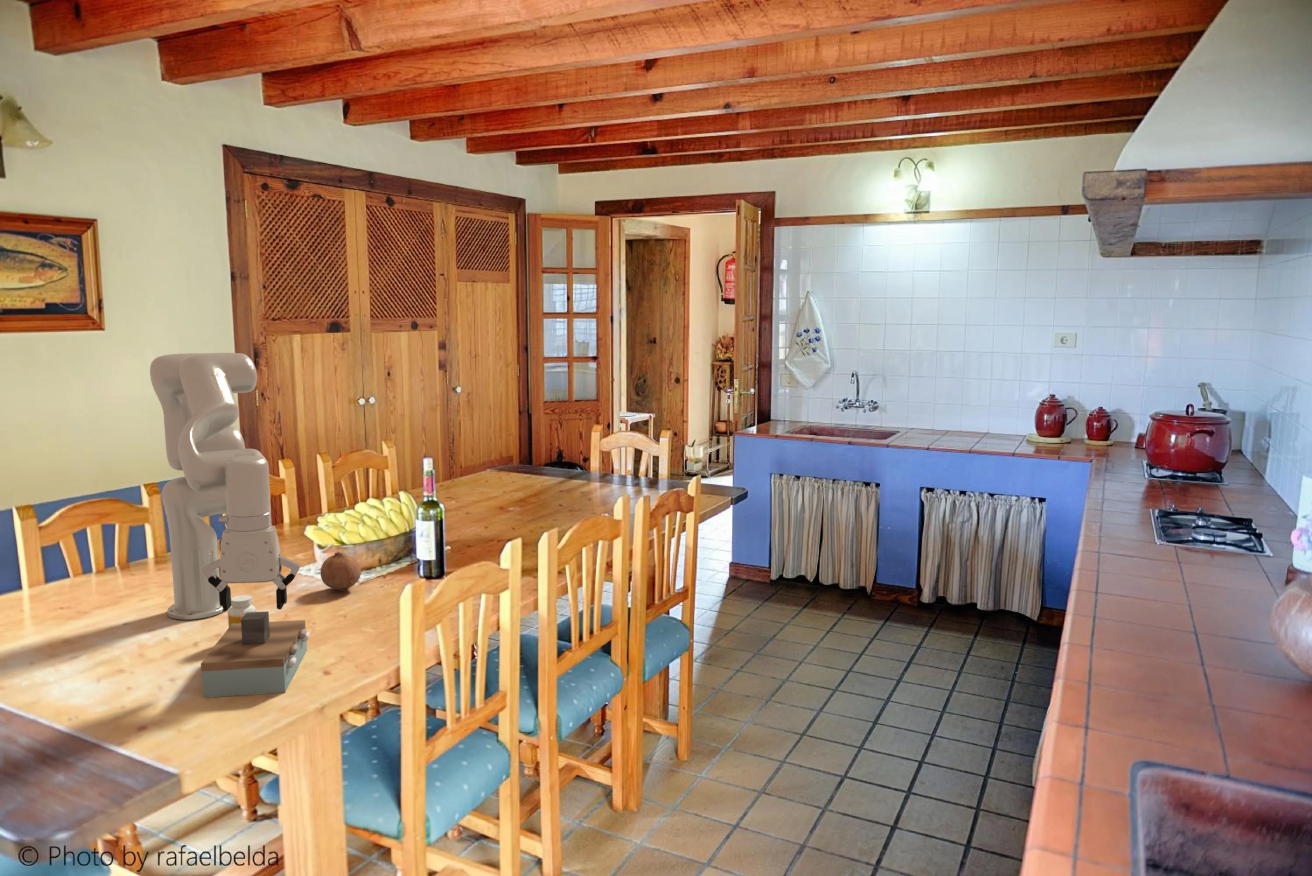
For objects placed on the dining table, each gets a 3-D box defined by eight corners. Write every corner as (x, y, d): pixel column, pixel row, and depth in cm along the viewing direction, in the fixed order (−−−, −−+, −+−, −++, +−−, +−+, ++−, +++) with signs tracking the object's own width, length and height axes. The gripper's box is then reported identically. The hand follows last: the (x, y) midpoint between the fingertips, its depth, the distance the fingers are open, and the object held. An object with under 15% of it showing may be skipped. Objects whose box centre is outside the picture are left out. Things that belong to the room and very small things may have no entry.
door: (232, 630, 177) (230, 600, 176) (311, 626, 180) (310, 596, 179) (201, 671, 158) (198, 637, 157) (290, 666, 161) (288, 632, 160)
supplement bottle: (228, 639, 186) (226, 596, 184) (256, 635, 188) (253, 592, 187) (230, 648, 181) (227, 603, 180) (258, 643, 184) (256, 599, 182)
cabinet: (234, 654, 178) (232, 631, 177) (313, 650, 181) (312, 626, 180) (203, 697, 158) (201, 671, 158) (292, 692, 161) (290, 666, 161)
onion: (315, 590, 218) (313, 551, 216) (351, 582, 224) (349, 544, 223) (331, 600, 211) (330, 559, 209) (368, 591, 217) (367, 552, 216)
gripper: (193, 528, 160) (199, 617, 163) (293, 525, 163) (297, 613, 166) (206, 517, 167) (211, 603, 170) (302, 515, 170) (305, 599, 173)
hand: (254, 608), depth 168 cm, fingers open, 9 cm apart
